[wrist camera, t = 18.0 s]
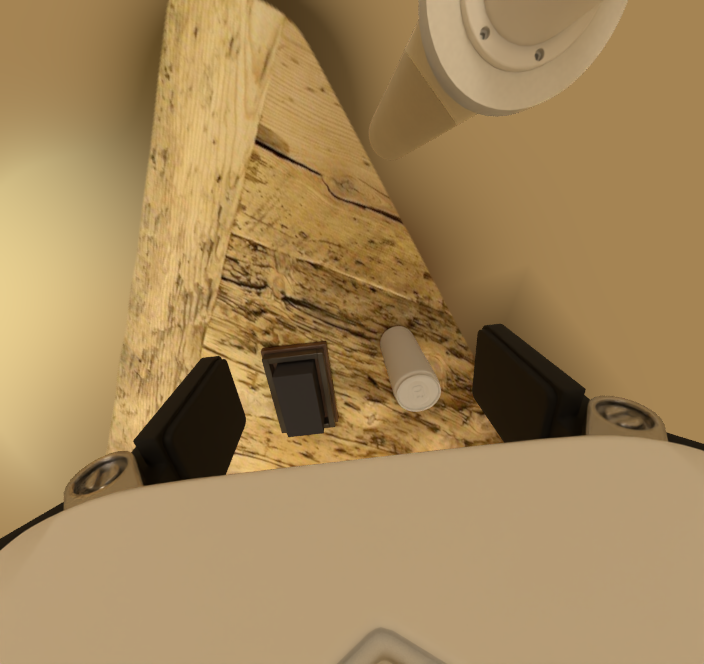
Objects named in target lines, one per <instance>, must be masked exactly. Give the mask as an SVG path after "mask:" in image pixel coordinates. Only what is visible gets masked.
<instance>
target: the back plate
mask: <svg viewBox="0 0 704 664" xmlns="http://www.w3.org/2000/svg"><path fill="white" fill-rule="evenodd" d="M261 354H262V362H263V366H264V370H265V373H266V377H267V380H268V384H269V388H270V391H271V395H272V399H273V402H274V406H275V409H276V413H277V417H278V420H279V424H280V427H281V431H282V433H287V431H286V427H285V423H284V420H283V416H282V412H281V408H280V405H279V401H278V397H277V394H276V390H275V386H274V382H273V379H272V377H273V374H274V372H275V369H276V366H277V363H283V362H291V361H300V360H309V359H315V363H316V369H317V374H318V380H319V385H320V390H321V396H322V401H323V407H324V412H325V419H324V428H330V427H335V422H338V413H337V407H336V400H335V394H334V388H333V382H332V375H331V369H330V363H329V357H328V350H327V344H326V341H323V342H314V343H305V344H297V345H288V346H279V347H271V348H263V349H262V350H261Z"/></svg>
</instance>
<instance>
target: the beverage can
mask: <svg viewBox="0 0 704 664" xmlns="http://www.w3.org/2000/svg"><path fill="white" fill-rule="evenodd" d="M380 348H381V351H382V355H383V358H384V362H385V365H386V369H387V372H388V376H389V379H390V383H391V386H392V389H393V393H394V396H395V398H396V400H397V401H398V403H399V405H400V406H401V407H402V408H404V409H406V410H409V411H423V410H426V409H428V408H430V407H431V406H433V405H434V404H435V403H436V402H437V401H438V399H439V397H440V394H441V387H440V384H439V381H438V378H437V376H436V374H435V373H434V371H433V369H432V367H431V366H430V364H429V362H428V360H427V359H426V357H425V355H424V354H423V352H422V350H421V348H420V346H419V345H418V343H417V341H416V339H415V337H414V336H413V334H412V333H411V331H410V330H408V329H407V328H405V327H402V326H395V327H392V328H389V329H388V330H387V331H385V333H384V334H383V335H382V338H381V341H380Z"/></svg>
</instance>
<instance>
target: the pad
mask: <svg viewBox="0 0 704 664" xmlns="http://www.w3.org/2000/svg"><path fill="white" fill-rule="evenodd" d="M272 379H273V382H274V386H275V390H276V394H277V397H278V401H279V405H280V408H281V412H282V416H283V420H284V423H285V427H286V431H287V435H288V437H294V436H303V435H311V434H320V433H324V419H325V412H324V407H323V401H322V396H321V390H320V385H319V380H318V374H317V369H316V363H315V359H309V360H300V361H291V362H283V363H277V366H276V369H275V372H274V374H273V377H272Z"/></svg>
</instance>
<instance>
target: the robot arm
mask: <svg viewBox="0 0 704 664" xmlns="http://www.w3.org/2000/svg"><path fill="white" fill-rule="evenodd" d="M602 1H604V0H460V6H461V12H462V18H463V23H464V26H465V29H466V32H467V35H468V37H469V39H470V41H471V43H472V45H473V46H474V48H475V50H476V51H477V52H478V53H479V54H480V56H481V57H482V58H483V59H484V60H485V61H487V62H488V63H489V64H491V65H492V66H494V67H496V68H498V69H501V70H504V71H508V72H524V71H530V70H533V69H535V68H538V67H540V66H543V65H545V64H546V63H548V62H550V61H551V60H553V59H555V58H556V57H557V56H559V55H560V54H561V53H563V52H564V51H565V50H567V49H568V48H569V47H570V46H571V45H572V44H573V43H574V42H575V41H576V40H577V39H578V38H579V37H580V35H581V34H582V33H583V31H584V30H585V28H586V27H587V26H588V24H589V23H590V22H591V20H592V18H593V16H594V15H595V13H596V11H597V9H598V7H599V6H600V4H601V2H602ZM480 35H482V36H483V40H482V39H481V37H480ZM535 57H536V59H535ZM477 336H478V337H477V346H476V356H475V367H474V378H473V388H472V391H473V396H474V399H475V400H476V402H477V403H478V405H479V406H480V408H481V409H482V411H483V412H484V413H485V415H486V416H487V418H488V419H489V421H490V422H491V424H492V425H493V427H494V428H495V430H496V431H497V433H498V434H499V436H500V437H501V438H502V440H503V441H504V443H499V444H490V445H480V446H471V447H462V448H453V449H444V450H436V451H427V452H418V453H410V454H401V455H392V456H384V457H375V458H366V459H358V460H349V461H340V462H331V463H323V464H314V465H305V466H296V467H288V468H279V469H271V470H262V471H254V472H246V473H237V474H229V475H226V473H227V470H228V467H229V465H230V462H231V460H232V457H233V455H234V452H235V450H236V447H237V445H238V442H239V440H240V437H241V435H242V432H243V430H244V427H245V423H246V417H245V413H244V410H243V407H242V404H241V402H240V399H239V396H238V393H237V390H236V387H235V384H234V381H233V378H232V375H231V372H230V369H229V366H228V363H227V361H226V360H225V359H221V357H219V356H215V357H206V358H202V359H200V361H199V362H198V363H197V364H196V365H195V367H194V368H193V369H192V370H191V372H190V373H189V374H188V375H187V376H186V378H185V379H184V380H183V381H182V382H181V384H180V385H179V386H178V387H177V388H176V390H175V391H174V392H173V393H172V395H171V396H170V397H169V398H168V399H167V401H166V402H165V403H164V404H163V405H162V407H161V408H160V409H159V410H158V412H157V413H156V414H155V415H154V416H153V418H152V419H151V420H150V421H149V422H148V424H147V425H146V426H145V427H144V428H143V430H142V431H141V432H140V433H139V435H138V436H137V437H136V438H135V439H134V441H133V442H134V444H135V445H136V447H135V449H134V450H133V451H132V452H128V451H118V452H114V453H110V454H108V455H105V456H103V457H100V458H98V459H97V460H95V461H93V462H91V463H90V464H88V465H87V466H85V467H84V468H83V469H81V470H80V471H79V472H78V473H77V474H76V475H75V476H74V477H73V478H72V479H71V480H70V482H69V483H68V484H67V486H66V488H65V492H64V502H63V503H61V504H59V505H58V506H56V507H54V508H52V509H51V510H49V511H47V512H46V513H44V514H42V515H40V516H39V517H37V518H35V519H33V520H32V521H30V522H28V523H27V524H25V525H23V526H21V527H20V528H18V529H16V530H14V531H13V532H11V533H9V534H8V535H6V536H4V537H3V538H1V539H0V664H704V444H702V443H699V442H696V441H692V440H689V439H686V438H683V437H679V436H676V435H673V434H670V433H666V430H665V426H664V423H663V421H662V419H661V418H660V417H659V416H658V415H657V414H656V413H655V412H653V411H652V410H650V409H648V408H647V407H645V406H643V405H641V404H639V403H636V402H634V401H631V400H628V399H624V398H619V397H614V396H599V397H594V398H593V399H591V400H590V399H589V398H587V397H586V396H585V395H584V393H585V388H584V387H582V386H581V385H580V384H579V383H577V382H576V381H575V380H573V379H572V378H571V377H570V376H568V375H567V374H566V373H564V372H563V371H562V370H560V369H559V368H558V367H557V366H555V365H554V364H553V363H551V362H550V361H549V360H548V359H546V358H545V357H544V356H542V355H541V354H540V353H539V352H537V351H536V350H535V349H533V348H532V347H531V346H530V345H528V344H527V343H526V342H524V341H523V340H522V339H521V338H519V337H518V336H517V335H515V334H514V333H513V332H512V331H510V330H509V329H508V328H506V327H505V326H504V325H502V324H494V325H486V326H484V327H483V328H482V330H479V331H478V335H477Z"/></svg>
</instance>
